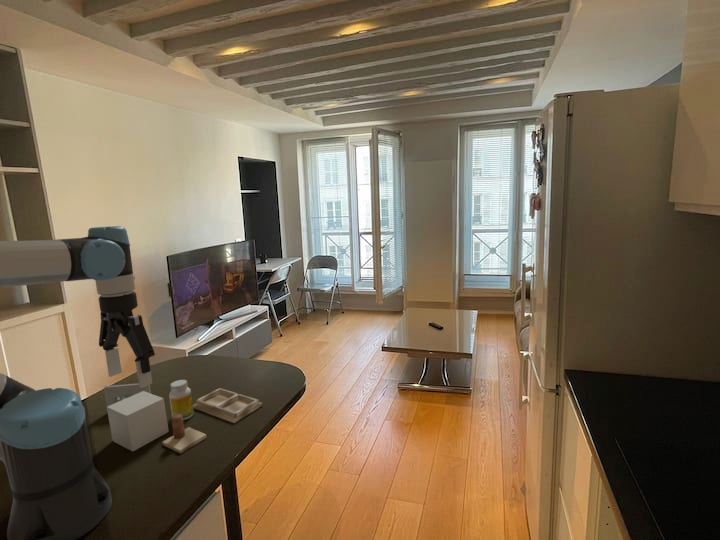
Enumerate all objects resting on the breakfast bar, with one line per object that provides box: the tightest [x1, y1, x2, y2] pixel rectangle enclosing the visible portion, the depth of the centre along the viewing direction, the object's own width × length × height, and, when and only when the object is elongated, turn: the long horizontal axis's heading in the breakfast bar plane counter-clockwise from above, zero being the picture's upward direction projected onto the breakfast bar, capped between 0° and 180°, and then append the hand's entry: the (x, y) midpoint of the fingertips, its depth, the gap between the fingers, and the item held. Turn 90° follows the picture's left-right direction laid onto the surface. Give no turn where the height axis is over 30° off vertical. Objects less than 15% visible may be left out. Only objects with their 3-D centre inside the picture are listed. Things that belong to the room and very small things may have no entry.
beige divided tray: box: [193, 387, 264, 424], centre depth 110 cm, size 10×17×2 cm, turn 58°
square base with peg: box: [161, 414, 208, 454], centre depth 95 cm, size 7×7×6 cm
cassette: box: [103, 382, 152, 408], centre depth 111 cm, size 12×2×8 cm, turn 95°
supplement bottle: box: [168, 379, 195, 421], centre depth 106 cm, size 5×5×10 cm
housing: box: [106, 391, 170, 452], centre depth 98 cm, size 9×9×9 cm
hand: (130, 379), depth 95 cm, fingers open, 13 cm apart
